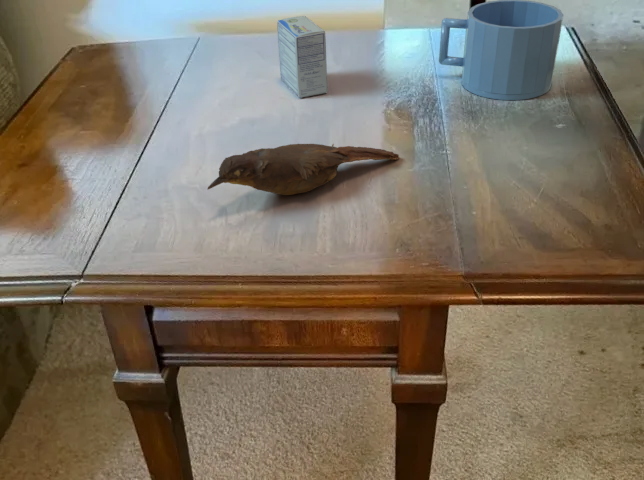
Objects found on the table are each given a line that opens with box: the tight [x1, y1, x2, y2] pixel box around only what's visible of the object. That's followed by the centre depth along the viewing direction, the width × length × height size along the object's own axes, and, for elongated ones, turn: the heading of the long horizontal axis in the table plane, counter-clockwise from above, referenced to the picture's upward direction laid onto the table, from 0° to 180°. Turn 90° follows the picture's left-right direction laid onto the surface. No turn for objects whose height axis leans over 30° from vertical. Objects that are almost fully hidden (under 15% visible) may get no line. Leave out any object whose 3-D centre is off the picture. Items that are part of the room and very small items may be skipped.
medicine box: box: [276, 15, 328, 99], centre depth 106 cm, size 8×4×9 cm, turn 20°
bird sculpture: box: [207, 143, 400, 196], centre depth 85 cm, size 7×25×5 cm, turn 122°
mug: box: [438, 0, 564, 101], centre depth 105 cm, size 16×12×10 cm
